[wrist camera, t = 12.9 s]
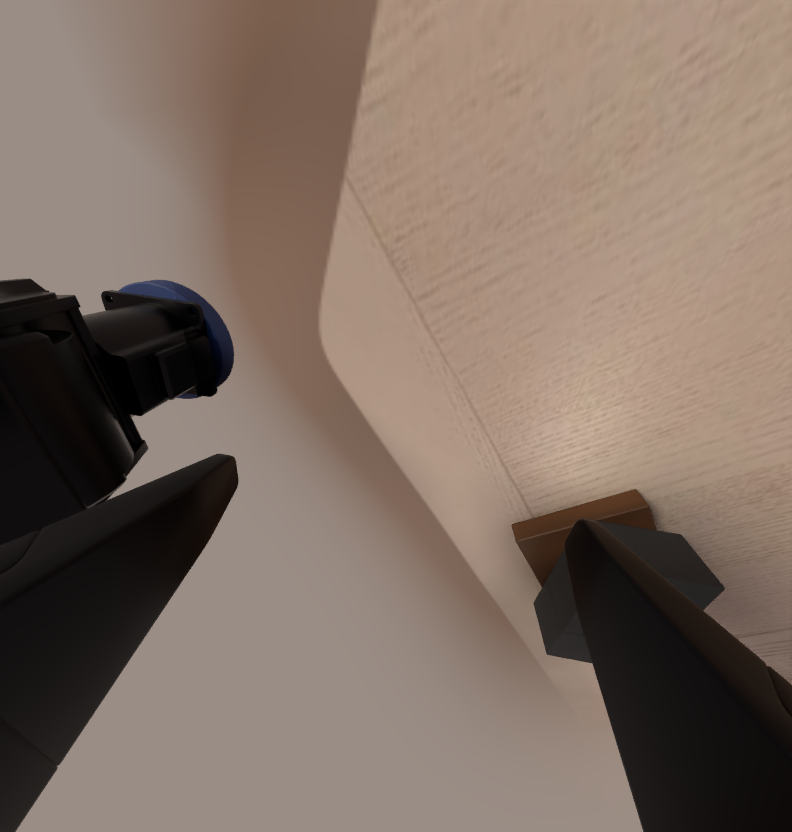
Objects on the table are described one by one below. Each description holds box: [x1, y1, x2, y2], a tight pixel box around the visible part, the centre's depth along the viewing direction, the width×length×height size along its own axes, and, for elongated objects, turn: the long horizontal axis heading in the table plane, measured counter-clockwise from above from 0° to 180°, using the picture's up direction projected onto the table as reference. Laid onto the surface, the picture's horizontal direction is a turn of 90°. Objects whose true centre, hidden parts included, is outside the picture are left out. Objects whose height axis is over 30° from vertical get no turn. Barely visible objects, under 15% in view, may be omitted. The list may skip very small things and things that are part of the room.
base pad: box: [512, 489, 657, 587], centre depth 21 cm, size 10×8×5 cm
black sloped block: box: [534, 518, 725, 663], centre depth 20 cm, size 9×6×4 cm, turn 174°
